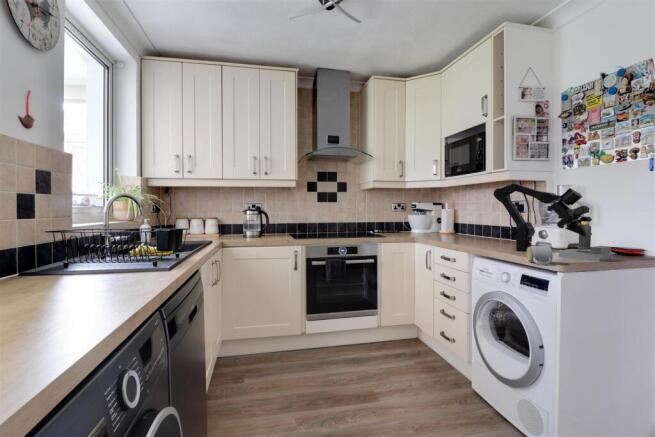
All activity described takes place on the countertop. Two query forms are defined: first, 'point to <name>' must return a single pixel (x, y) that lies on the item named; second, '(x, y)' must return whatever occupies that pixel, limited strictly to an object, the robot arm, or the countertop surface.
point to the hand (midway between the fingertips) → (588, 235)
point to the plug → (585, 240)
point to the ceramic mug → (539, 255)
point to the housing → (588, 253)
